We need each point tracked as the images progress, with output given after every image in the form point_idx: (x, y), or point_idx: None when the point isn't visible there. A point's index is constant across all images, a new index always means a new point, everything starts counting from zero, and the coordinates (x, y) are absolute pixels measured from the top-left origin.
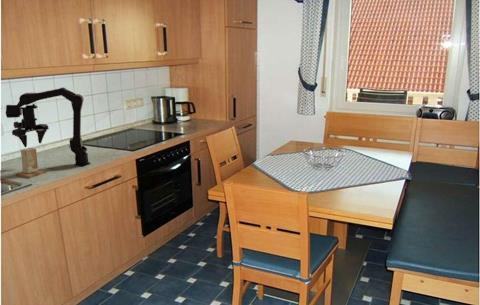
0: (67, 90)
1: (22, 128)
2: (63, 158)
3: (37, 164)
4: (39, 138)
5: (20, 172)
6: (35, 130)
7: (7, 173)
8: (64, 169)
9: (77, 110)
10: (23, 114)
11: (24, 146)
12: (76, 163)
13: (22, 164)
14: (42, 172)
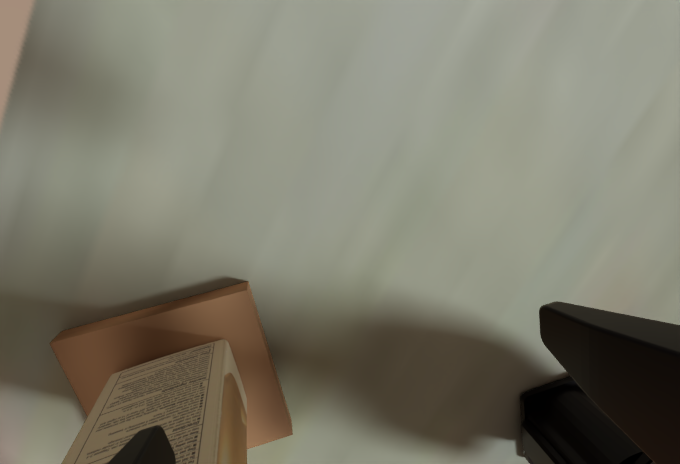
0: None
1: None
2: (620, 134)
3: (245, 446)
4: (654, 405)
5: (99, 339)
6: None
7: (7, 189)
8: (420, 435)
9: None
10: None
11: (133, 439)
12: (529, 439)
13: (78, 442)
14: (258, 440)
